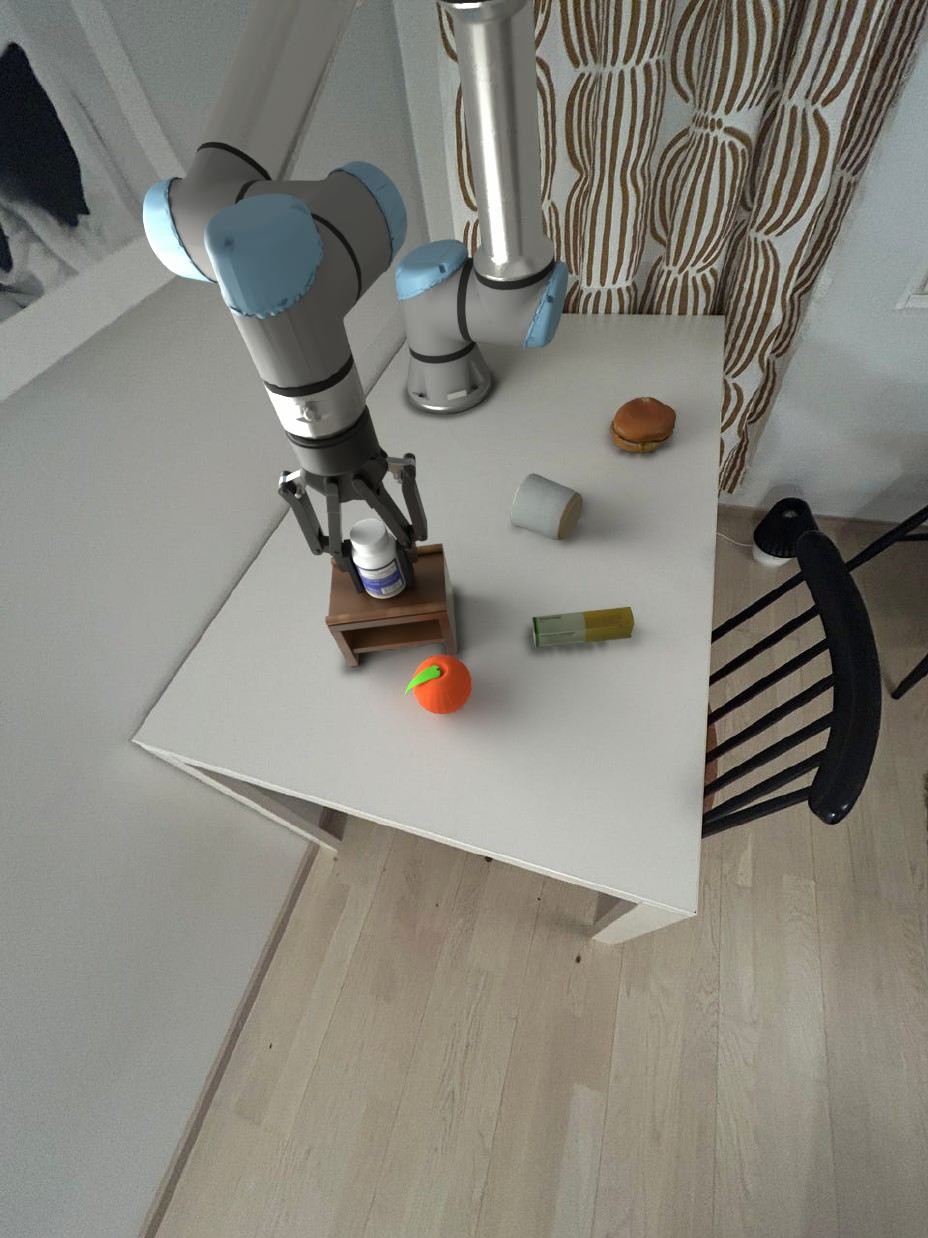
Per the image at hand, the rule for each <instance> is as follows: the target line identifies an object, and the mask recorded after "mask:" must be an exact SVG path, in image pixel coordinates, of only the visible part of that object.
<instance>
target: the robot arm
mask: <svg viewBox="0 0 928 1238" xmlns="http://www.w3.org/2000/svg"><path fill="white" fill-rule="evenodd" d="M367 1H368V0H254V3H253V4H252V8H251V11H250V13H249V15H248V18H247V20H246V23H245V26H244V27H243V31H242V34H241V36H240V38H239V40H238V43H237V46H236V48H235V51H234V53H233V56H232V59H231V61H230V64H229V66H228V69H227V72H226V74H225V77H224V79H223V81H222V83H221V86H220V89H219V92H218V94H217V97H216V99H215V102H214V105H213V107H212V109H211V112H210V114H209V117H208V119H207V123H206V124H205V127H204V130H203V132H202V134H201V137H200V141H199V142H198V145H197V148H196V150H195V155H194V156H193V158H192V160H191V163H190V165H189V168H188V171H187V172H186V175H185V176H184V178H183V177H179V176H172V177H170V178H168V179H163V180H160V181H157V182H156V183H154V184H153V185H152V186H150V187H149V189H148V190H147V192H146V193H145V196H144V200H143V204H142V208H143V209H142V220H143V226H144V231H145V234H146V238H147V240H148V243H149V245H150V247H151V249H152V251H153V252H154V254H155V255H156V257H157V258H158V259H159V261H161V262H162V265H164V267H165V268H167V269H168V270H169V271H170V272H172V273H174V274H175V275H177V276H179V277H182V278H187V279H191V280H196V281H197V280H198V281H203V282H207V283H211V284H218V286H219V291H220V295H221V297H222V299H223V301H224V303H225V305H226V307H228V309H229V311H230V313H231V316H232V317H233V319H234V322H235V324H236V327H237V328H238V330H239V333H240V335H241V337H242V339H243V341H244V343H245V345H246V348H247V350H248V352H249V354H250V356H251V358H252V361H253V363H254V365H255V367H256V369H257V371H258V373H259V376H260V378H261V381H262V384H263V385H264V388H265V390H266V392H267V395H268V397H269V399H270V401H271V404H272V406H273V408H274V410H275V412H276V415H277V417H278V419H279V422H280V424H281V426H282V427H283V428H284V432H285V435H286V438H287V440H288V442H289V444H290V447H291V449H292V451H293V454H294V456H295V457H296V461H297V463H298V465H299V466H300V467H299V469H298V470H296V471H294V472H291V471H289V470H282V471H281V472H280V475H279V482H278V487H277V494H278V495H279V496H280V497H281V498H282V499H283V500H284V501H285V502H286V503H287V504H288V505H289V506H290V508H291V510H292V513H293V515H294V516H295V519H296V521H297V523H298V526H299V528H300V530H301V532H302V534H303V536H304V538H305V541H306V543H307V545H308V547H309V549H310V552H311V553H312V555H314V556H322V555H323V553H325V554H329V555H330V556H331V557H332V558H334V560H335V562H336V564H337V567H338V569H339V571H341V572H342V573H344V572H349V575H350V577H351V579H352V581H353V584H354V586H355V588H356V590H357V593H358V594H362V593H364V588H365V587H364V584H363V582H362V580H361V577H360V575H359V573H358V570H357V568H356V566H355V563H354V561H353V558H352V555H351V548H352V545H353V544H352V541H351V539H350V538H348V539H345V538H344V539H343V535H344V534H343V516H342V515H343V514H342V513H343V512H342V511H343V510H342V504H345V503H349V502H351V501H364V502H365V503H366V504H367V506H368V507H369V508H370V509H371V510H373V509H374V511H375V512H376V513H377V515H378V517H380V520H381V521H382V522H383V523H384V524H385V526H386V528H388V530H389V531H390V532H391V534H392V535H393V536H394V537H395V539H396V552H397V555H398V558H399V561H400V564H401V567H402V570H403V573H404V577H405V580H406V583H407V586H408V588H409V587H414V567H413V564H412V563H417V561H418V550H417V543H416V542H417V541H418V542H426V541H427V540H428V539H429V534H428V533H429V531H428V519H427V515H426V512H425V508H424V504H423V501H422V497H421V494H420V491H419V487H418V483H417V480H416V477H417V462H416V459H417V458H416V455H415V454H414V453H412V452H407V453H405V454H403V456H402V457H395V456H389V455H388V454H387V451H386V450H384V449H383V448H382V446H381V444H380V443H379V440H378V437H377V433H376V429H375V426H374V422H373V420H372V419H373V418H372V416H371V411H370V409H369V406H368V405H367V401H366V399H367V398H366V394H365V392H364V388H363V384H362V381H361V377H360V374H359V371H358V367H357V363H356V361H355V358H354V355H353V352H352V349H351V345H350V342H349V338H348V334H347V329H346V326H345V323H344V320H345V317H346V316H347V315H348V314H349V312H351V310H352V309H353V308H354V307H355V305H357V303H358V301H360V300H361V298H362V297H363V296H364V295H365V294H366V292H367V291H368V290H369V289H370V288H371V287H372V286H373V285H374V284H375V283H376V281H377V280H379V278H380V277H382V275H383V274H384V273H387V271H388V270H389V269H390V268H391V266H392V263H393V261H394V259H395V258H396V256H397V255H398V253H399V251H400V250H401V249H402V247H403V246H404V243H405V242H406V241H405V240H406V237H407V234H408V233H407V232H408V212H407V209H406V205H405V201H404V199H403V196H402V194H401V192H400V189H398V187H397V185H396V184H395V182H394V181H393V180H392V179H391V177H390V176H389V175H388V174H387V173H386V172H385V171H384V170H382V169H381V168H380V167H378V166H376V165H374V164H371V163H370V162H366V161H361V160H355V161H350V162H348V163H346V164H343V165H342V166H339V167H335V168H334V169H332V170H330V171H329V173H328V175H327V176H326V178H323V179H320V180H305V179H304V180H295V179H294V180H291V179H292V177H293V174H294V171H295V168H296V165H297V163H298V161H299V158H300V155H301V152H302V149H303V147H304V145H305V141H306V139H307V136H308V134H309V131H310V128H311V125H312V124H313V123H312V122H313V120H314V117H315V114H316V112H317V109H318V107H319V104H320V101H321V98H322V96H323V93H324V90H325V87H326V85H327V82H328V79H329V78H330V74H331V72H332V69H333V66H334V64H335V61H336V58H337V55H338V53H339V51H340V48H341V45H342V43H343V40H344V37H345V34H346V31H347V29H348V27H349V23H350V22H351V19H352V15H353V13H354V11H355V9H356V8H358V7H361V6H362V5H364V4H365V3H367ZM435 1H436V2H437V3H438V5H439V6H440V7H441V8H443V9H444V10H445V11H446V13H448V14H449V16H450V17H451V18H452V27H453V35H454V42H455V50H456V58H457V64H458V73H459V81H460V89H461V96H462V97H461V98H462V103H463V111H464V119H465V126H466V127H465V128H466V135H467V142H468V149H469V159H470V165H471V172H472V173H471V174H472V181H473V188H474V195H475V196H474V197H475V205H476V210H477V218H478V227H479V233H480V242H481V244H480V245H479V246H478V247H477V248H476V250H475V252H474V254H473V257H470V256H469V254H470V253H469V250H468V248H467V245H466V244H465V243H464V242H463V241H460V240H458V239H451V238H449V239H447V238H446V239H440V240H435V241H431V242H429V243H425V244H423V245H421V246H418V247H416V248H414V249H412V250H411V251H410V252H408V253H406V254H405V255H404V256H403V257H402V258H401V259H400V260H399V261H398V263H397V265H396V266H395V269H394V270H395V271H394V280H395V287H396V297H397V299H398V303H399V308H400V312H401V318H402V322H403V327H404V331H405V332H404V333H405V337H406V340H407V344H408V350H409V362H408V371H407V377H406V378H407V379H406V390H407V395H408V400H409V401H410V403H411V404H412V405H413V406H414V407H415V408H416V409H418V410H421V412H425V413H429V414H434V415H451V414H456V413H460V412H464V411H467V410H469V409H471V408H473V407H475V406H477V405H478V404H480V403H481V402H482V401H484V400H485V399H486V398H487V396H488V395H489V393H490V391H491V388H492V381H491V378H492V377H491V373H490V369H489V367H488V364H487V362H486V360H485V358H484V356H483V354H482V352H481V349H480V347H479V345H478V343H480V344H488V345H489V344H491V345H501V346H511V347H521V348H522V349H526V348H544V347H546V346H548V345H549V344H550V343H551V342H552V341H553V340H554V337H555V335H556V333H557V331H558V328H559V325H560V321H561V318H562V314H563V310H564V306H565V301H566V297H567V290H568V284H569V274H570V273H569V272H570V270H569V265H568V264H567V262H566V261H563V260H561V259H559V260H556V257H555V255H556V254H555V244H554V241H553V240H552V239H551V237H550V236H548V235H546V233H544V226H543V225H544V224H543V199H542V198H543V197H542V178H541V177H542V175H541V154H540V152H541V151H540V128H539V127H540V126H539V104H538V103H539V102H538V79H537V55H536V53H537V52H536V28H535V2H534V0H435ZM388 472H389V473H391V474H392V475H393V478H394V480H395V481H396V483H397V484H399V485H401V494H402V496H403V499H404V503H405V506H406V509H407V512H408V516H409V519H410V522H411V523H410V522H409V520H408V519H407V518H406V516H405V515H404V513H403V512H402V511H401V509H400V507H399V506H398V505H397V503H396V502H395V500H394V499H393V498H392V496H391V494H390V493H389V492H388V490H387V489H386V487H385V485H384V481H383V480H384V478H385V477H386V475H387V474H388ZM307 486H308V487H309V488H311V489H313V490H315V491H316V492H318V493H319V494H321V495H323V496H324V497H325V503H326V514H327V529H328V531H327V532H328V535H325V533H324V531H323V528H322V525H321V523H320V521H319V519H318V516H317V513H316V510H315V509H314V505H313V504H312V501H311V499H310V497H309V494H308V492H307V490H306V487H307Z"/></svg>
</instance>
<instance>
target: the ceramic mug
mask: <svg viewBox="0 0 928 1238" xmlns="http://www.w3.org/2000/svg"><path fill="white" fill-rule="evenodd" d="M515 491H516V492H515V494H514V496H513V500H512V503H511V508H510V521H511V523H512V524H513V525H515V526H516V527H520V528H523V529H525V530H528V531H530V532H534V533H536V534H538V535H541V536H544V537H545V538H549V539H551V540H556V541H565V540H566V539H568V538H569V537H570V536H571V535H572V533H573V532H574V530H575V528H576V527H577V525H578V523H579V520H580V517H581V515H582V512H583V507H584V499H583V496H582V494H581V493H579V492H578V491H576V490H575V489H573V488H571V487H568V486H566V485H564V484H561V483H558V482H557V481H553V480H551V479H549V478H546V477H545V476H542V475H540V474H537V473H529V474H528V475H527V476H525V478H523V480H522V481H521V483H520V484H519V486H518V487H517V489H516V490H515Z"/></svg>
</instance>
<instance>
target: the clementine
mask: <svg viewBox="0 0 928 1238" xmlns="http://www.w3.org/2000/svg"><path fill="white" fill-rule="evenodd" d="M411 689H412V692H413V696H414V698H415V699H416V701H417V702H418V704H419V705H420V706H421V707H422V708H423V709H425V711H428V712H430V713H432V714H435V715H449V714H453V713H455V712H457V711H459V710H460V709H462V707H464V705H465V704H466V703H467V702H468V700H469V698H470V697H471V694H472V689H473V679H472V676H471V673H470V671H469V669H468V667H467V666H466V664H465V663H464V662H463V661H461V660H460V659H459V658H457V657H455V656H452V655H448V654H435V655H433V656H430V657H428V658H425V659H424V660H423V661H422V662H421V663H420V664H419V665H418V667H417V668H416V669H415V672H414V675H413V678H412V680H411V681H410V682H409V684H408V686H407V688H406V689H405V692H404V696H406V695H407V693H408V692H409V691H410V690H411Z"/></svg>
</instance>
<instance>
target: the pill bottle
mask: <svg viewBox="0 0 928 1238" xmlns="http://www.w3.org/2000/svg"><path fill="white" fill-rule="evenodd" d="M349 539H350V540H351V542H352V548H351V555H352V558H353V561H354V563H355V566H356V568H357V570H358V573H359V575H360V577H361V580H362V582H363V584H364V587H365V589H366V591H367V592H368V593H369V594H370V595H372V596H374V597H376V598H390V597H393V596H395V595H397V594H398V593H400V592H401V591H402V590H403V589H404V587H405V586H406V584H407V583H406V580H405V577H404V573H403V570H402V567H401V564H400V561H399V558H398V555H397V552H396V537H395V536H394V535H393V533H390V532H389V531H388V529H387V525H386V524H385V523H384V521H383V520H382V519H378V518H376V517H375V518H373V517H369V518H363V519H362V520H359V521H358V522H356V523H355V524H354V525H353V526H352V527H351V528H350V532H349Z"/></svg>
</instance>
